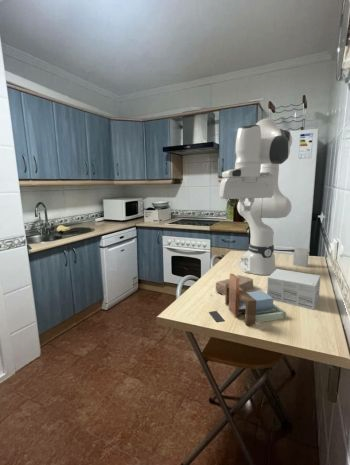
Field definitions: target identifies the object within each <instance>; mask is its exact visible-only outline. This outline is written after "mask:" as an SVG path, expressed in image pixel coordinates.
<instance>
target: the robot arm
mask: <svg viewBox="0 0 350 465" xmlns="http://www.w3.org/2000/svg"><path fill="white" fill-rule="evenodd" d="M292 144H293V137H292V134H291V132H290V131H289V130H284V129H283V128H280V127H278V125H277V122H276V121H275V120H274V119H272V118H269V117H266V118H265V117H264V118H262V119H260V120H259V121H257V122H256V123H255V124H249V125H241V126H239V128H237V132H236V139H235V158H236V159H235V164H234V167H233V168H230V169H228V170H225V171H223V172H222V173H221V177H222V179H221V181H220V183H219V193H218V194H219V198H220V199H222V200H232V199H234V200H237V199H238V202H237V206H236V209H237V212H238V214H239V215H240V216H241V217H243V218H244V220H246V222H247V224H248V226H249V230H250V243H249V244H248V245H247V246H248V249H247V251H245V252H244V253H243V254H242V255H241V256H240V260H241V261H238V262H237V263H236V265H237V267H238V268H239V269H241V271H243V272H244V273H247V274H253V275H261V276H267V275H269V276H270V275H271V274H272V273H273V272H274V271H275V270H276V269H278V267H276V256H275V253H274V252H275V245H274V236H275V235H274V229H273V228H272V227H271V226H269V225H267V224H266V223H264V222H263V219H281V218H287V217H288V216H289V214H290V213H291V211H292V202H291V201H290V199H289V198H288V197H286V196H285V195H284V194H283V193H282V192H281V190H280V188H279V175H280V165H282V164H283V163H284V162H286V161H287V160H288V159H289V156H290V153H291V147H292Z"/></svg>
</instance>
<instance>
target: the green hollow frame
mask: <svg viewBox="0 0 350 465" xmlns="http://www.w3.org/2000/svg"><path fill="white" fill-rule="evenodd" d="M273 309H276V312H275V313H268V314H261V315H256V320H255V323H261V322H268V321H275V320H280V319H281V320H282V319H286V314H287V312H286V311H284V310H283V309H281V308H280V307H279V306H277V305H276V304H275V303H273Z"/></svg>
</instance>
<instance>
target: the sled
mask: <svg viewBox="0 0 350 465" xmlns="http://www.w3.org/2000/svg"><path fill="white" fill-rule="evenodd" d="M228 279H229V305H228V310H229V311H230V313H231V314H232V315H233V316H234V317H238V316H239V314H245V310H246V303H245V302H244V301H243V300H242V299H241V298H240V297H239V280H240V278H238V277H237V275H236V274H234V273H229V278H228ZM275 312H276V309H267V310H260V311H256V315H261V314H268V313H275Z"/></svg>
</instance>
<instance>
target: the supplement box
mask: <svg viewBox="0 0 350 465" xmlns="http://www.w3.org/2000/svg"><path fill="white" fill-rule="evenodd" d="M320 286H321V275H318V274H311V273H307V272H306V273H304V272H298V271H293V270H285V269H279V268H277V269H276V270H275V271H274V272H273V273H272V274H269V276H267V286H266V287H267V288H266V294H268V295H269V296H271V297H272V298H273V302H280V303H283V304H288V305H291V306H292V305H293V306H297V307H302V308H306V309H310V310H315V308H316V306H317V303H318V300H319V297H320V288H321V287H320Z"/></svg>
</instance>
